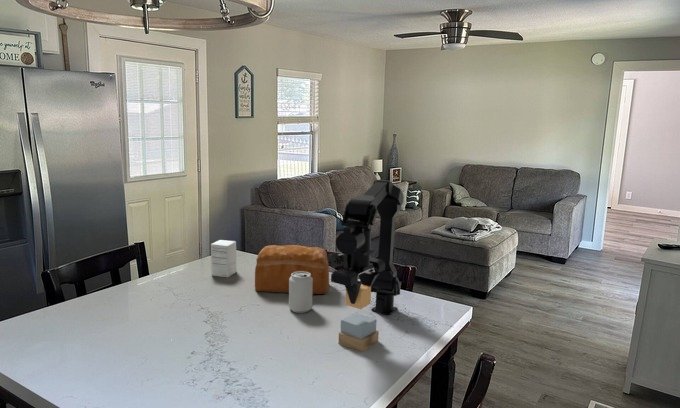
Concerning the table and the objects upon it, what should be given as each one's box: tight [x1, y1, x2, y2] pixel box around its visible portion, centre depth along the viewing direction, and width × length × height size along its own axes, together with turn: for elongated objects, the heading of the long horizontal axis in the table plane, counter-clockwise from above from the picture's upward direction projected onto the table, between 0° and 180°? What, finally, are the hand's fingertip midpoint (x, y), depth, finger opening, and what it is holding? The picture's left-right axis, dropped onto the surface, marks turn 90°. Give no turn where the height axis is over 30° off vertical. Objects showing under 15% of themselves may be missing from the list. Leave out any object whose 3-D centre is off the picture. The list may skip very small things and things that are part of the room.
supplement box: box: [210, 239, 238, 278], centre depth 193 cm, size 7×7×13 cm
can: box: [288, 271, 313, 314], centre depth 160 cm, size 8×8×12 cm
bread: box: [254, 244, 330, 295], centre depth 179 cm, size 14×26×16 cm, turn 86°
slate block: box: [340, 312, 378, 339], centre depth 138 cm, size 7×7×4 cm
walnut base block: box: [338, 329, 379, 353], centre depth 138 cm, size 8×8×4 cm
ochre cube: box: [344, 284, 372, 310], centre depth 136 cm, size 5×5×5 cm
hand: (358, 300), depth 136 cm, fingers closed on ochre cube, 5 cm apart
